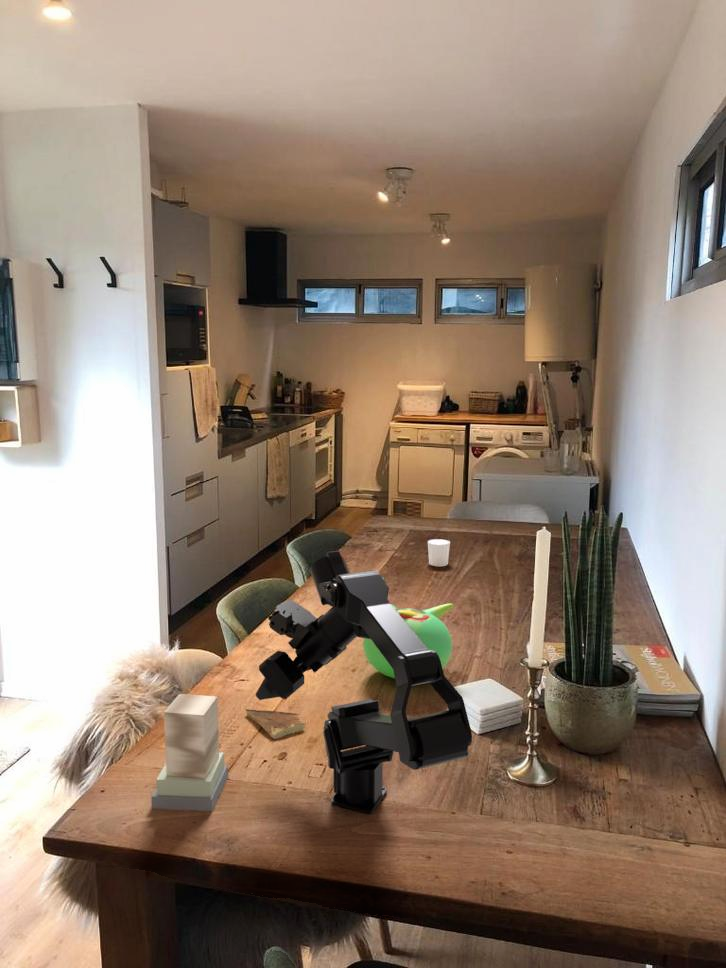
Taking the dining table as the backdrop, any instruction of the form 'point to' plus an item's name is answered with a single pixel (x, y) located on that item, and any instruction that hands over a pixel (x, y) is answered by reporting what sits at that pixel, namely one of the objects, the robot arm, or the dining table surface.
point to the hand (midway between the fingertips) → (273, 684)
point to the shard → (277, 722)
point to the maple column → (191, 736)
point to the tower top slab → (190, 782)
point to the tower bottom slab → (190, 798)
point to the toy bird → (424, 628)
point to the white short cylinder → (438, 552)
